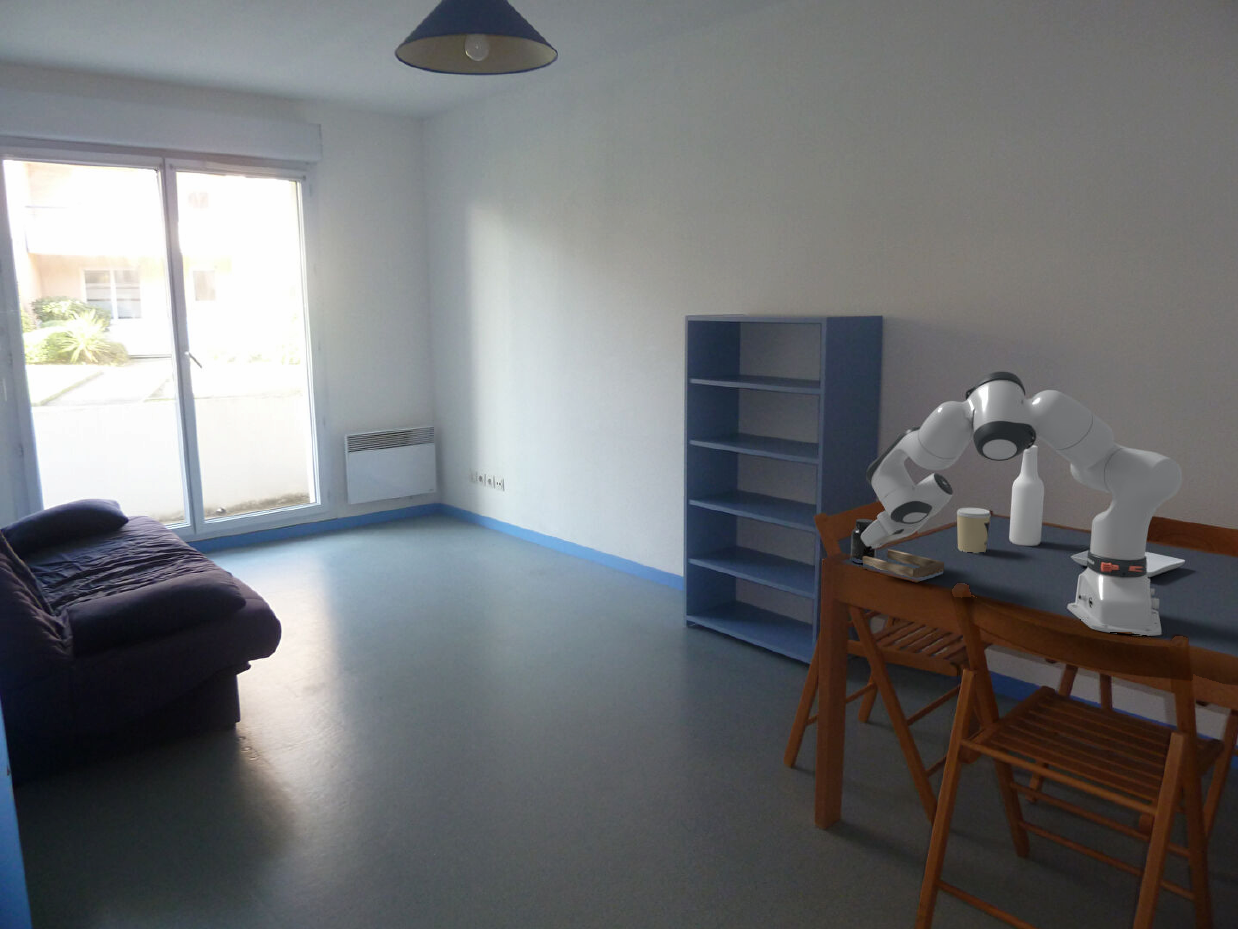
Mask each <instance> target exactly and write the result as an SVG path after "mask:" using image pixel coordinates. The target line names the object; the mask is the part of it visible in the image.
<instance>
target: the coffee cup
mask: <svg viewBox="0 0 1238 929" xmlns="http://www.w3.org/2000/svg"><path fill="white" fill-rule="evenodd" d="M956 516H957V517H956V518H957V519H956V520H957V521H956V523H957V526H956V527H957V529H956V530H957V548H958V549H959V550H958V551H960V552H962V551H963V553H967V552H973V553H972V554H980V553H979V552H984V553H986V550H987V545H988V538H989V529H990V523H991V522H990V520H991V516H992V514H991V512H990V510H988V509H984V508H980V507H961V508H958V509H957V511H956Z"/></svg>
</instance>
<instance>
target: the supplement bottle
mask: <svg viewBox="0 0 1238 929" xmlns="http://www.w3.org/2000/svg"><path fill="white" fill-rule="evenodd" d="M873 522H874V521H873V519H867V518H859V519H856V520H855V528H854V529H853V530H852V531H851V543H850V544H851V546H850V557H851V556H852V555H853V556H852V558H856V559H860V560H863V557H864V556H867V557H871V558H875V559H876V553H877V548H874V549H873V548H872V547H871V546H869V547H867V546H866V545H865V544H864V542H863V541H862V539H861V534H862V533H863V532H864V531H865V530H866V529H867V528H868V526H869V525H870V524H871V523H873ZM854 554H856V555H854Z"/></svg>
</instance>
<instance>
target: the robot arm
mask: <svg viewBox="0 0 1238 929" xmlns="http://www.w3.org/2000/svg"><path fill="white" fill-rule="evenodd" d="M1037 439H1039V440H1042V441H1043V442H1044V443H1045V444H1046V445H1048V446H1049V447H1050V448H1052V449H1053V450H1054V451H1055V452H1057V453H1058V454H1059V455H1060V456H1061V457H1063V458H1064V459H1065V460H1067V461H1068V462H1069V463H1070V466H1069V468H1070V474H1071V475H1072V478H1073V480H1075V481H1076V482H1077V483H1079V484H1082V485H1083V486H1085V487H1087V488H1089V489H1091V490H1094V491H1099V492H1103V493H1108V494H1112V499H1111V503H1110V504H1109V507H1108V508H1107V510H1105V511H1102V512H1100V513H1098V514H1096V516H1094V518H1093V520H1092V522H1091V531H1090V532H1091V535H1090V546H1089V550H1087V551H1088V555H1087V566H1088V567H1087V566H1086V567H1087V568H1085V570H1084V571H1083V572H1081V573H1080V574H1079V575H1078V579H1077V585H1076V586H1077V587H1076V594H1075V601H1074V602H1070V603H1068V604H1067V607H1066V608H1067V610H1068V611H1070V612H1071V613H1072V614H1073V615H1074V616H1075V617H1077V618H1078V620H1080V619H1081V622H1083V623H1084V624H1085V625H1086V626H1088V627H1089V628H1090V629H1092V630H1095V631H1100V632H1104V633H1110V632H1132V633H1134V634H1140V635H1139V636H1142V635H1147V637H1148V636H1161V635H1162V626H1161V621H1160V620H1161V619H1160V614H1159V611H1158V610H1159V609H1160V598H1156V597H1152V596H1155V590H1156V589H1155V588H1151V578H1150V577H1149V578H1148V577H1147V576H1146V574H1147V557H1146V556H1145V552H1146V547H1147V538H1148V531H1149V526H1150V523H1151V520H1152V518H1153V516H1154V514H1155V512H1156V511H1157V509H1158V508H1159V507H1161V505H1162V504H1163V503H1165V502H1166V501H1168V500H1170V499H1171V498H1173V497H1174V496H1175V495H1176V494H1177V493H1178V491H1179V490H1180V487H1181V486H1182V484H1183V483H1182V482H1183V471H1182V468H1181V466H1180V464H1179V463H1178V462H1177V461H1176V460H1174V459H1172V458H1170V457H1168V456H1166V455H1163V454H1161V453H1159V452H1155V451H1149V450H1142V449H1137V448H1132V447H1131V448H1130V447H1127V446H1123V445H1121V444H1118V443H1116V442H1114V441H1115V440H1114V439H1115V435H1114V431H1113V429H1112V427H1110V426H1109V425H1108V424H1107V423H1106V422H1105V421H1103V419H1101V418H1100V417H1098V416H1097V415H1096V414H1095V413H1093V411H1091V410H1090V409H1089V408H1087V406H1084V405H1083V404H1082V403H1081V402H1079V401H1078V400H1076V399H1075V398H1073V397H1071V396H1069V395H1067V394H1065V393H1063V392H1061V391H1059V390H1056V389H1046V390H1043V391H1039V392H1038V393H1036V394H1034V396H1032V397H1031V398H1026V389H1025V387H1024V384H1023V382H1022V381H1021V379H1020V378H1019V377H1018V376H1017V375H1016V374H1014V373H1012V372H1009V371H996V372H991V373H989V374H986V375H985V376H983V377H981V378H980V379H978V381H977V382H976V383H975V385H973V386H972V387H970V388H968V389H967V390H966V392H965V401H957V400H949V401H945V402H943V403H941V404H939V405H938V407H936V408H935V409H934V410H933V411H932V412H931V413H930V414H929V416H927V418H926V419H925V420H924V422H923V423H922V425H921V426H916V427H912V428H909V429H908V430H905V431H904V432H903V433H902V434H901V435H899V436H898V437H897V439H895V441H894V442H893V443H892V444H891V445H890V446H889V447H888V448H887V449H886V450H885V451H884V452H882V454H881V455H880V456H879V457H877V458H876V459H875V460H873V461H872V462H871V463H870V464H869V466H868V467H867V470H866V474H865V479H866V481H867V482H868V484H869V485H870V486H871V488H872V489H873V491H874V492H875V494H876V496H877V497H878V499H879V501H880V503H881V504H882V506H883V507H884V510H883V511H882V512H880V513H878V515H877V516H876V518H877V519H875V520H874V521H873V523H871V524H870V525H869V526H868V528H867V529H866V530H865V531H864V532H863V533H862V534H861V539H862V541H863V542H864V544H865V545H866V546H867V547H869V546H871V547H872V548H873V549H874V548H876V549H877V548H880V547H882V546H883V545H885V544H886V543H888V542H891V541H895V540H898V539H902V538H906V537H910V536H911V535H913V534H915V533H916V532H917V531H918V530H919V529H920V528H922V527H923V526H924V525H925V524H926V523H927V521H928V520H929V519H930V518H931V517H933V516H936V514H938V513H939V512H940V511H941V510H942V509H943V508H944V507H945V506H947V504H948V503H949V501H950V500H951V499H952V497H953V496H954V490H953V488H952V486H951V484H950V483H949V481H948V480H947V479H946V478H945V477H944V476H943V475H942V474H940V473H936V472H935V473H931V474H930V475H928V476H927V477H925V478H924V479H922V480H921V481H920V482H919V483H917V484H915V482H914V481H913V480H912V478H911V476H910V474H909V473H908V471H907V468H906V466H905V461H906V460H907V459H908V458H910V460H911V461H913V463H914V464H915V465H917V466H918V467H920V468H923V469H926V470H929V471H943V470H946V469H948V468H950V467H951V466H953V465H954V464H955V463H957V461H958V460H959V458H960V457H961V455H962V454H963V452H964V451H965V450H966V449H967V446H968V445H969V443H970V442H972V441H973V444H974V445H975V448H976V451H977V452H978V454H979V455H980V456H981V457H983V458H984V459H987V460H992V461H997V462H1000V461H1001V462H1002V461H1009V460H1010V459H1013V458H1015V457H1017V456H1019V455H1021V454H1022V453H1024V452H1023V451H1024V450H1025V449H1029V448H1031V447H1032V446H1033V445H1034V444H1035V443H1036V440H1037ZM1156 609H1157V610H1156Z"/></svg>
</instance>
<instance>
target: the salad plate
mask: <svg viewBox="0 0 1238 929" xmlns="http://www.w3.org/2000/svg"><path fill="white" fill-rule="evenodd" d="M1088 551H1089V550H1086V551H1083V552H1079V553H1076V554H1073V555H1072V556H1070V557H1071V559H1072V560H1073V561H1075V563H1078V564H1079V565H1082V566H1085V567H1088V566H1087V555H1088ZM1145 556H1146V557H1147V574H1146V576H1147V577H1149V578H1151V577H1154V576H1158V575H1160V574H1162V573H1166V572H1168V571H1171V570H1172V571H1173V570H1174V569H1178V568H1179V567H1181V566H1183V564H1185V562H1186V560H1185V559H1182V558H1177V557H1173V556H1167V555H1163V554H1158V553H1153V552H1149V551H1145Z"/></svg>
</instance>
